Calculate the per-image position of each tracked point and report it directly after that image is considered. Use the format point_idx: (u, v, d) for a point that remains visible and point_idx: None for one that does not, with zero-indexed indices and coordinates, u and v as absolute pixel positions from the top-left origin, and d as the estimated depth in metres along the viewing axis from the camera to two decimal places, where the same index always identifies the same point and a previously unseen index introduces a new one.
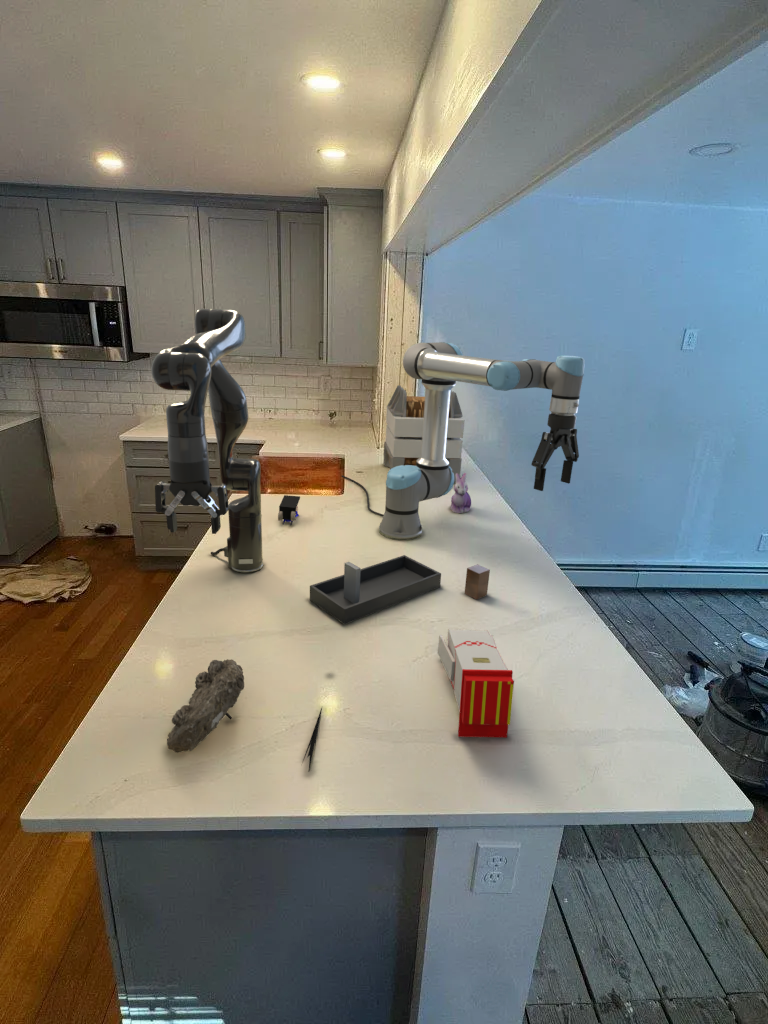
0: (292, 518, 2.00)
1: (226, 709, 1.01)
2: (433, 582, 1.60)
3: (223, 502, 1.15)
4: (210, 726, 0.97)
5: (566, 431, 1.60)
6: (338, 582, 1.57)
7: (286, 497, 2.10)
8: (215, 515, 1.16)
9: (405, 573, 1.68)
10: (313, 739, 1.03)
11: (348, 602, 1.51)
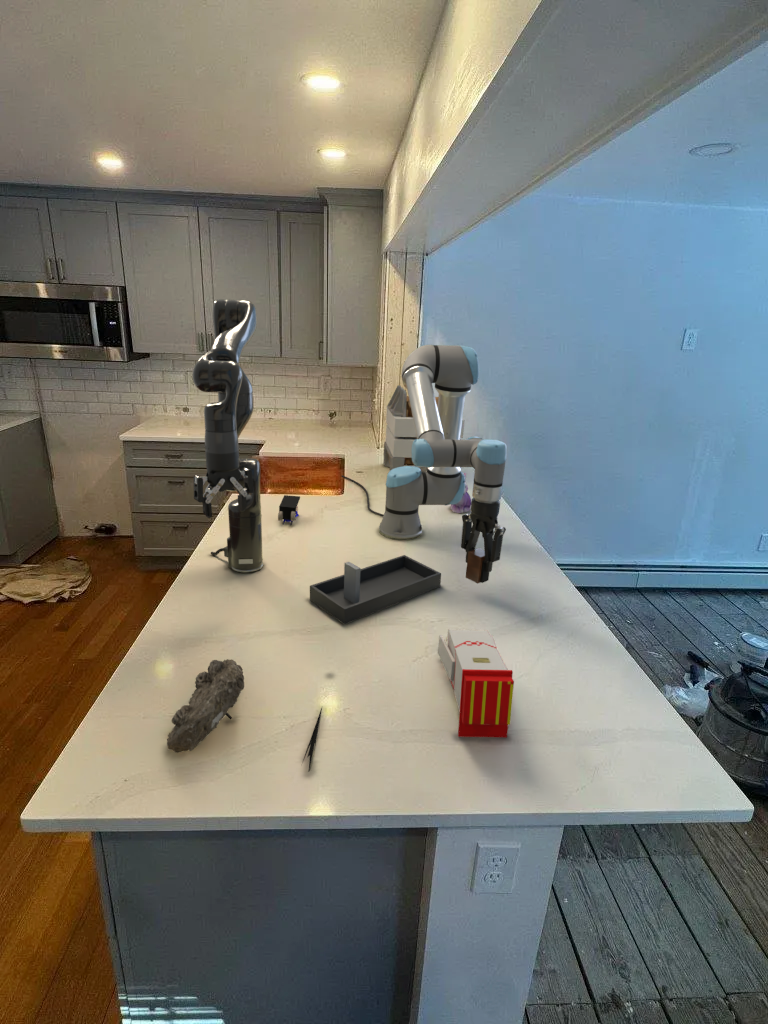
0: (292, 518, 2.00)
1: (226, 709, 1.01)
2: (433, 582, 1.60)
3: None
4: (210, 726, 0.97)
5: (487, 517, 1.49)
6: (338, 582, 1.57)
7: (286, 497, 2.10)
8: None
9: (405, 573, 1.68)
10: (313, 739, 1.03)
11: (348, 602, 1.51)
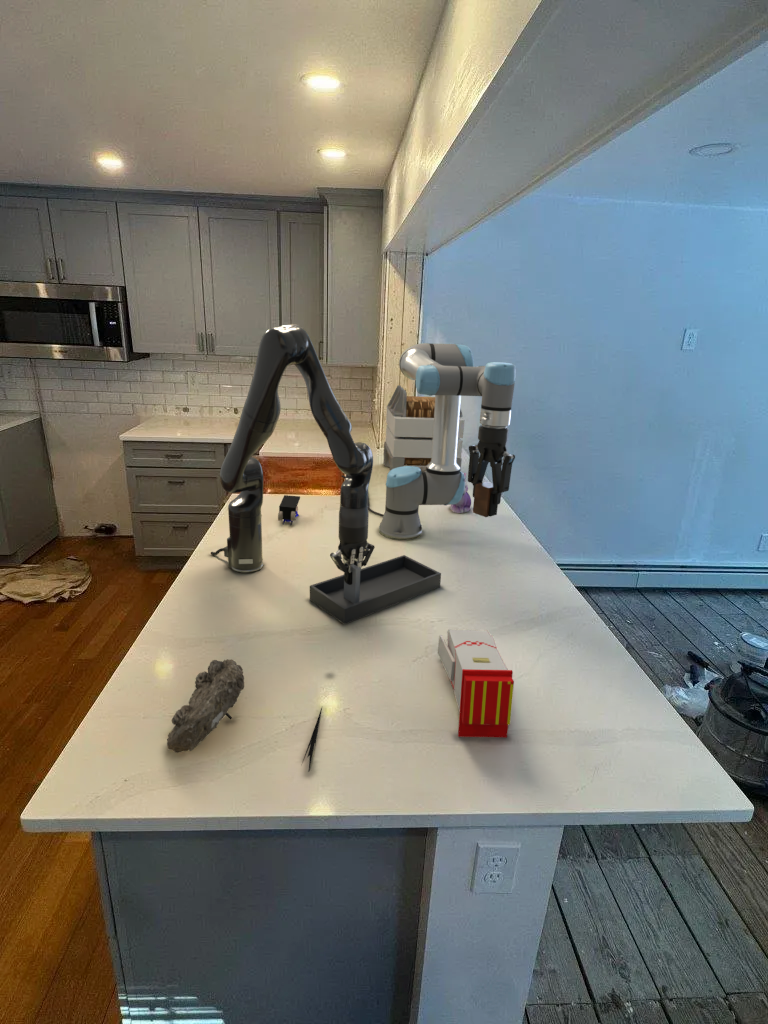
0: (292, 518, 2.00)
1: (226, 709, 1.01)
2: (433, 582, 1.60)
3: None
4: (210, 726, 0.97)
5: (495, 444, 1.43)
6: (338, 582, 1.57)
7: (286, 497, 2.10)
8: None
9: (405, 573, 1.68)
10: (313, 739, 1.03)
11: (348, 602, 1.50)
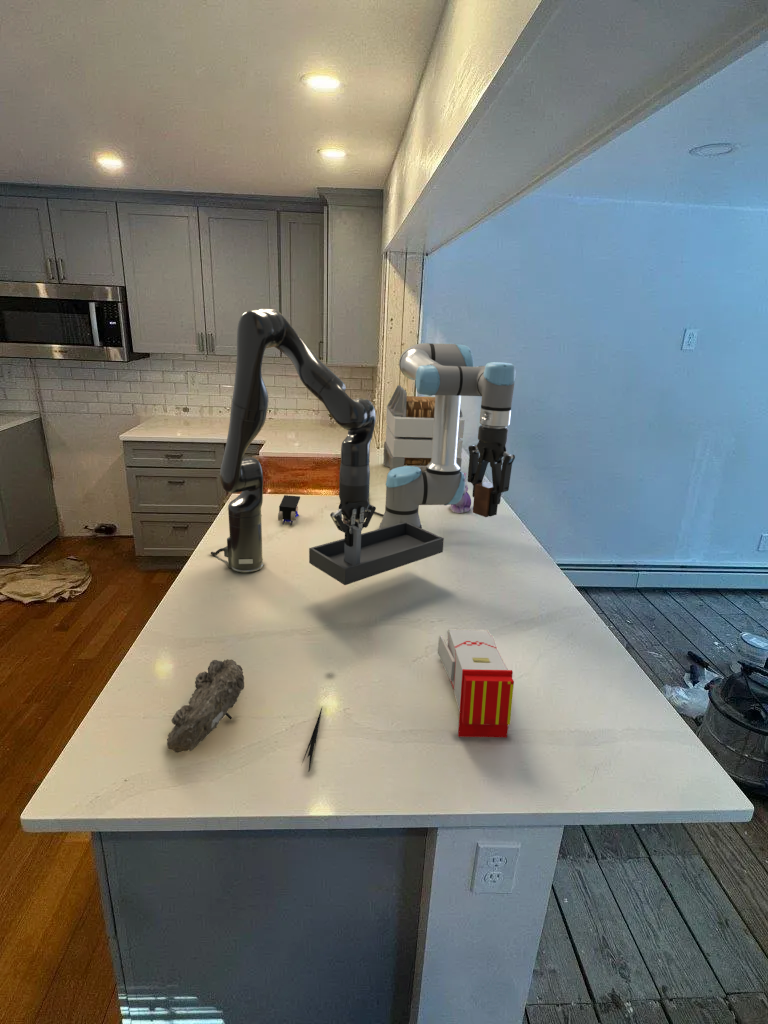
0: (292, 518, 2.00)
1: (226, 709, 1.01)
2: (435, 547, 1.57)
3: None
4: (210, 726, 0.97)
5: (495, 444, 1.43)
6: (338, 546, 1.53)
7: (286, 497, 2.10)
8: None
9: (407, 539, 1.65)
10: (313, 739, 1.03)
11: (349, 565, 1.47)
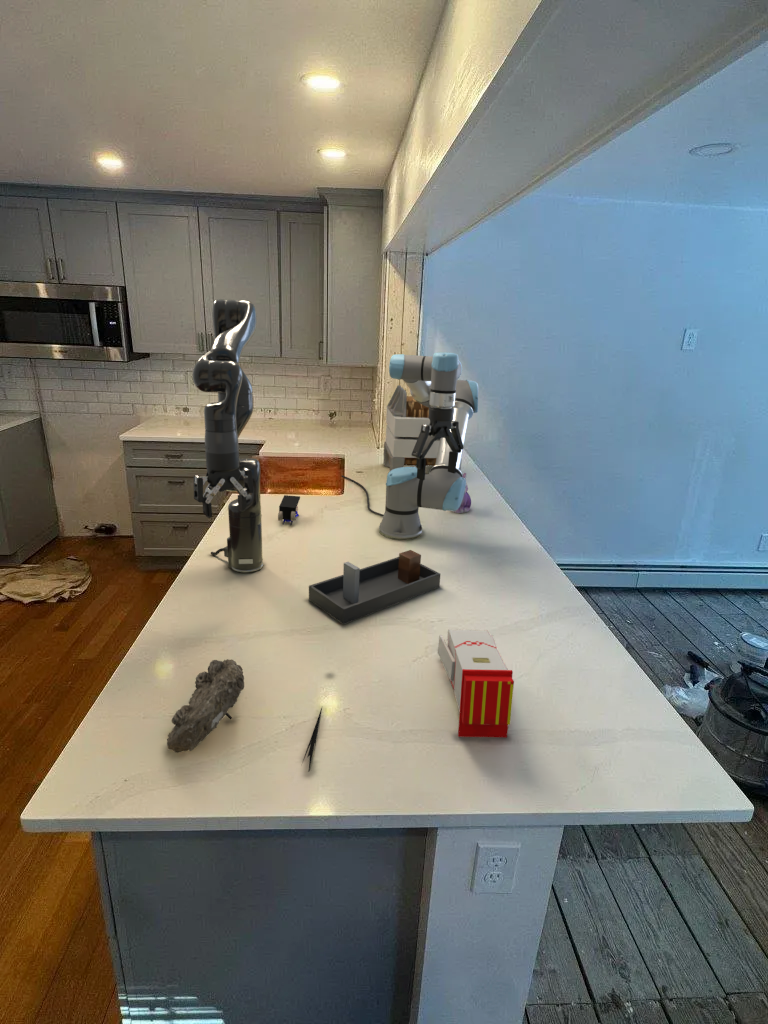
0: (292, 518, 2.00)
1: (226, 709, 1.01)
2: (432, 582, 1.60)
3: None
4: (210, 726, 0.97)
5: (446, 423, 1.70)
6: (337, 582, 1.56)
7: (286, 497, 2.10)
8: None
9: None
10: (313, 739, 1.03)
11: (347, 602, 1.50)
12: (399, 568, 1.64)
